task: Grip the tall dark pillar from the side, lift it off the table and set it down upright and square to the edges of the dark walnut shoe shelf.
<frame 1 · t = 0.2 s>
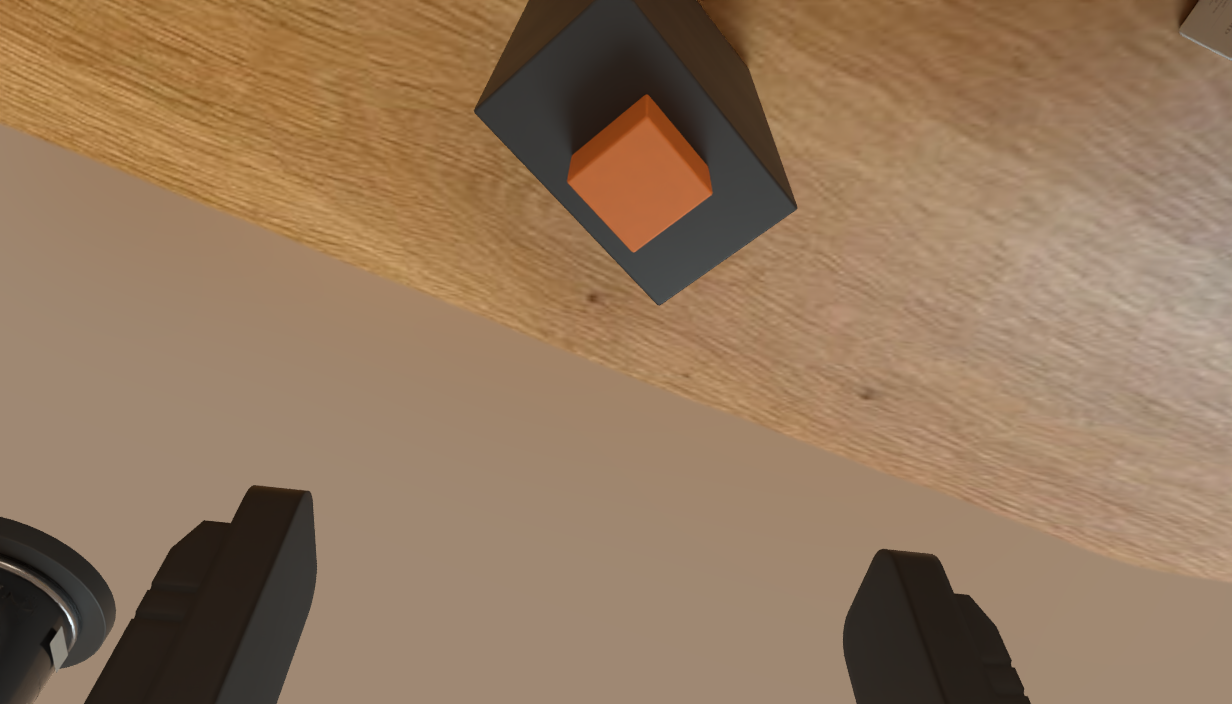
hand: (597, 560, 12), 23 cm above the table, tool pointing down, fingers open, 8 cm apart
tall dark pillar: (641, 35, 31), on the table
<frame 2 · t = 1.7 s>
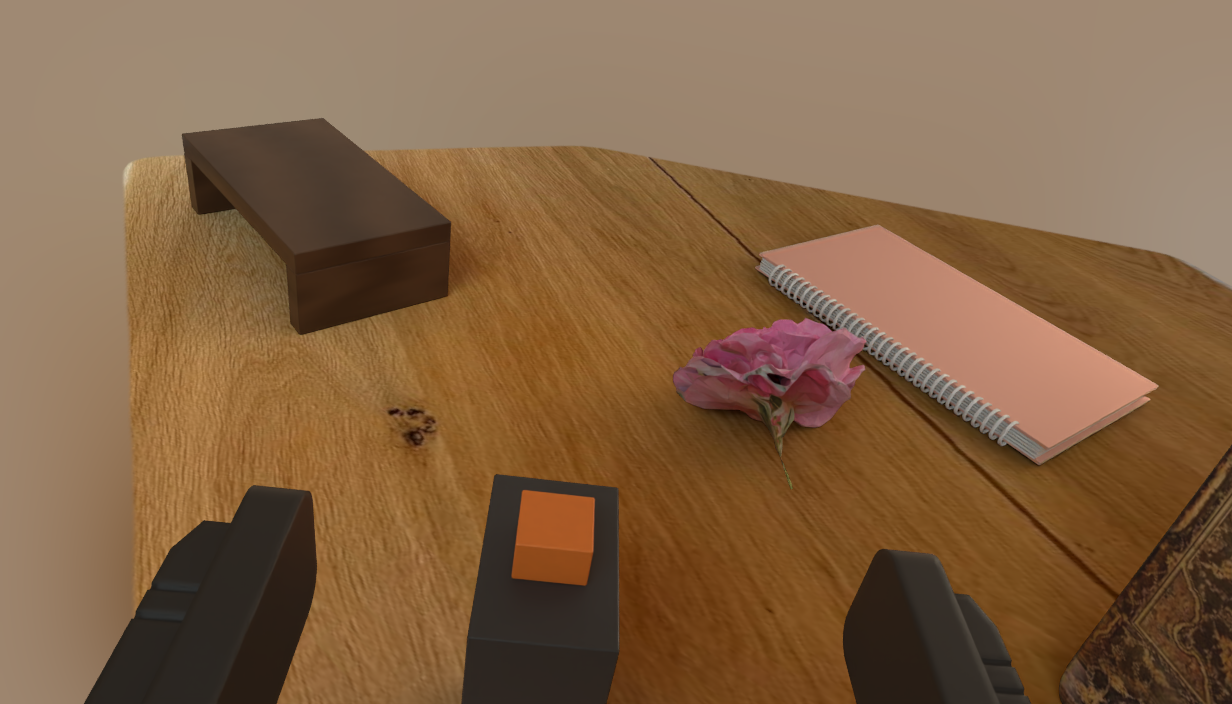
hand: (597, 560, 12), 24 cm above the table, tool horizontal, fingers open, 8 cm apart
flower: (754, 426, 55), on the table
shoe shelf: (314, 249, 65), on the table
notebook: (934, 336, 69), on the table
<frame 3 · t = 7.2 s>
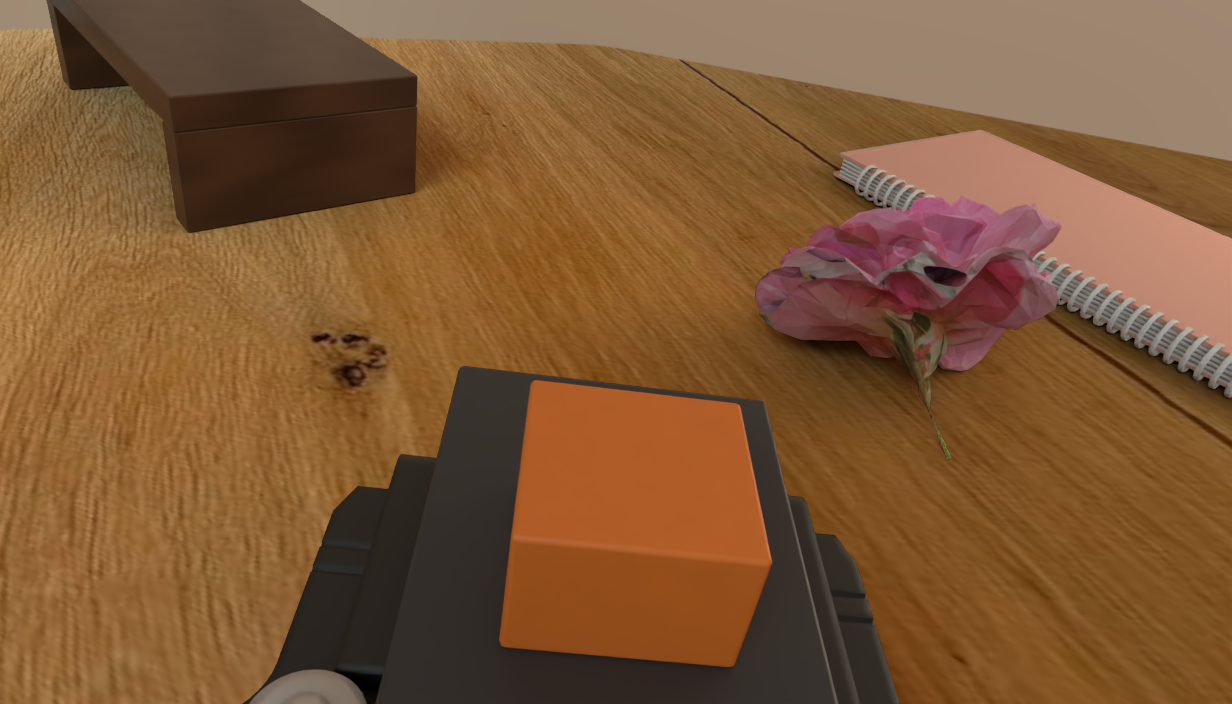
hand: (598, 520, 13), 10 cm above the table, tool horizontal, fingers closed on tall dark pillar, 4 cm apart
flower: (871, 369, 37), on the table
shoe shelf: (230, 133, 46), on the table
notebook: (1084, 259, 50), on the table
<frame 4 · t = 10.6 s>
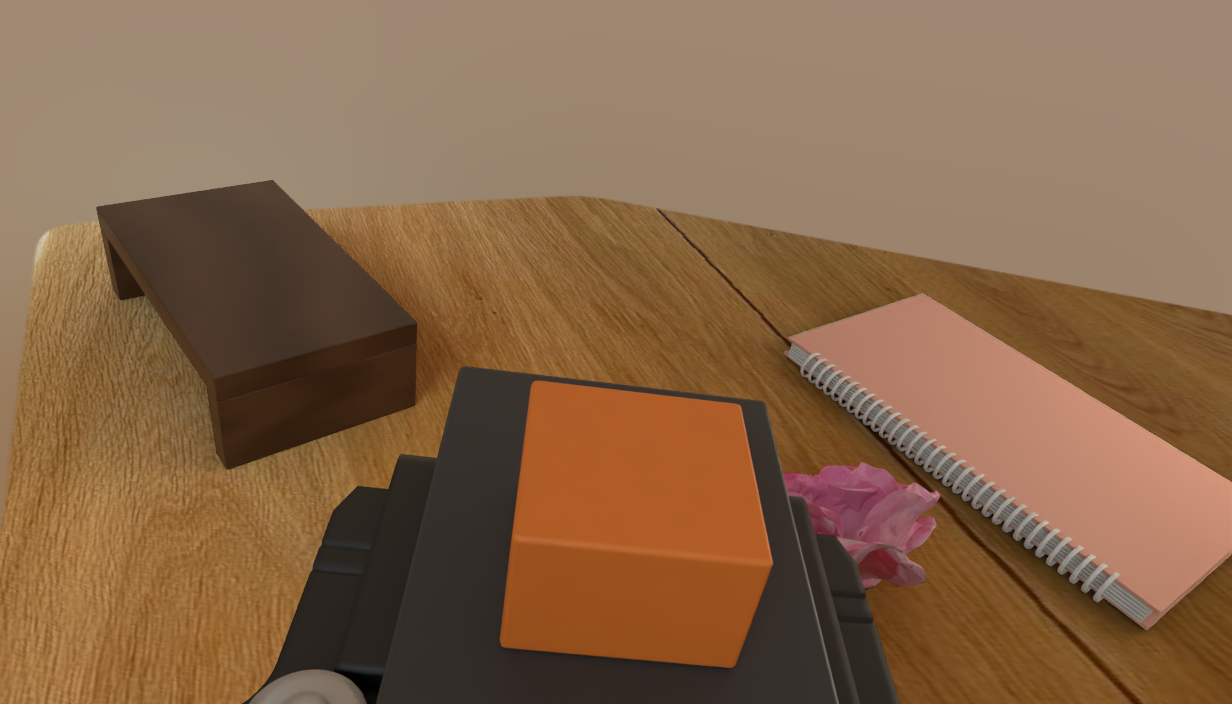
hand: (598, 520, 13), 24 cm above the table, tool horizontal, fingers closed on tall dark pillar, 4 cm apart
flower: (793, 587, 44), on the table
shoe shelf: (257, 344, 54), on the table
notebook: (999, 441, 58), on the table
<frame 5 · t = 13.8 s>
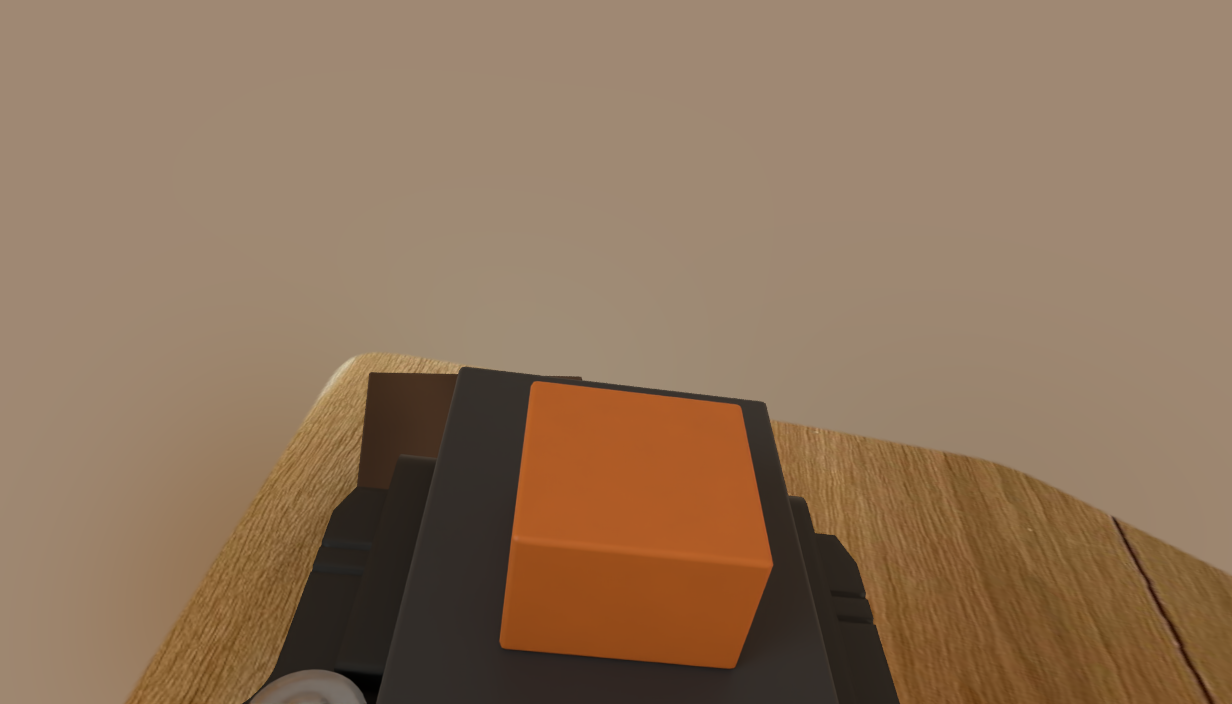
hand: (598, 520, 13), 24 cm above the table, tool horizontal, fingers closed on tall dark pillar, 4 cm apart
shoe shelf: (478, 603, 40), on the table
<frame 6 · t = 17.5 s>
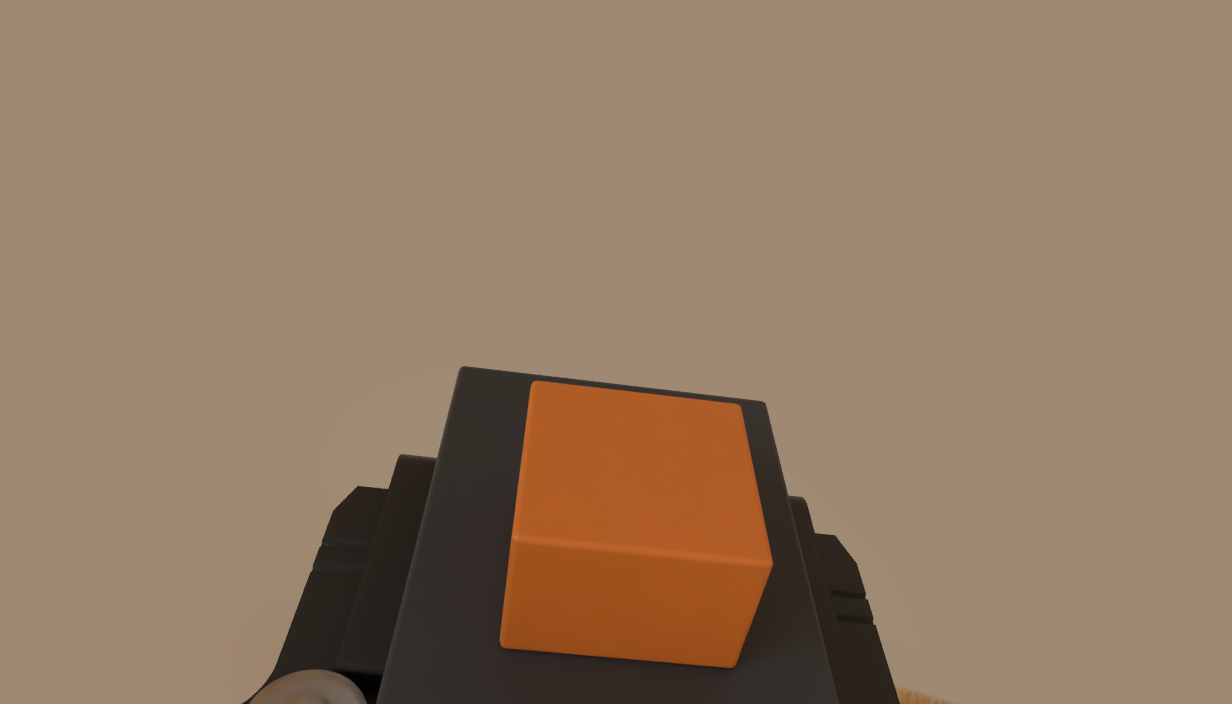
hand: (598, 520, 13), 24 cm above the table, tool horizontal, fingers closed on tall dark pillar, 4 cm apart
when the fingers open (16 cm above the table, at t = 20.6 s): tall dark pillar stays where it is, resting on shoe shelf.
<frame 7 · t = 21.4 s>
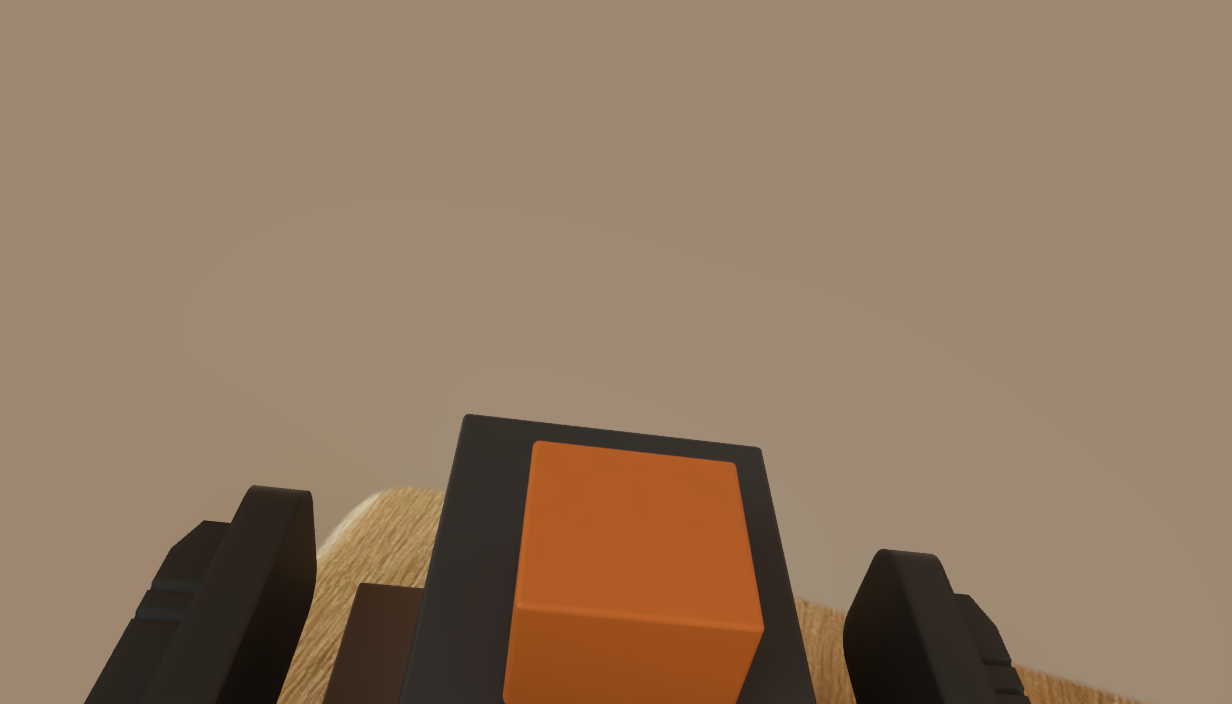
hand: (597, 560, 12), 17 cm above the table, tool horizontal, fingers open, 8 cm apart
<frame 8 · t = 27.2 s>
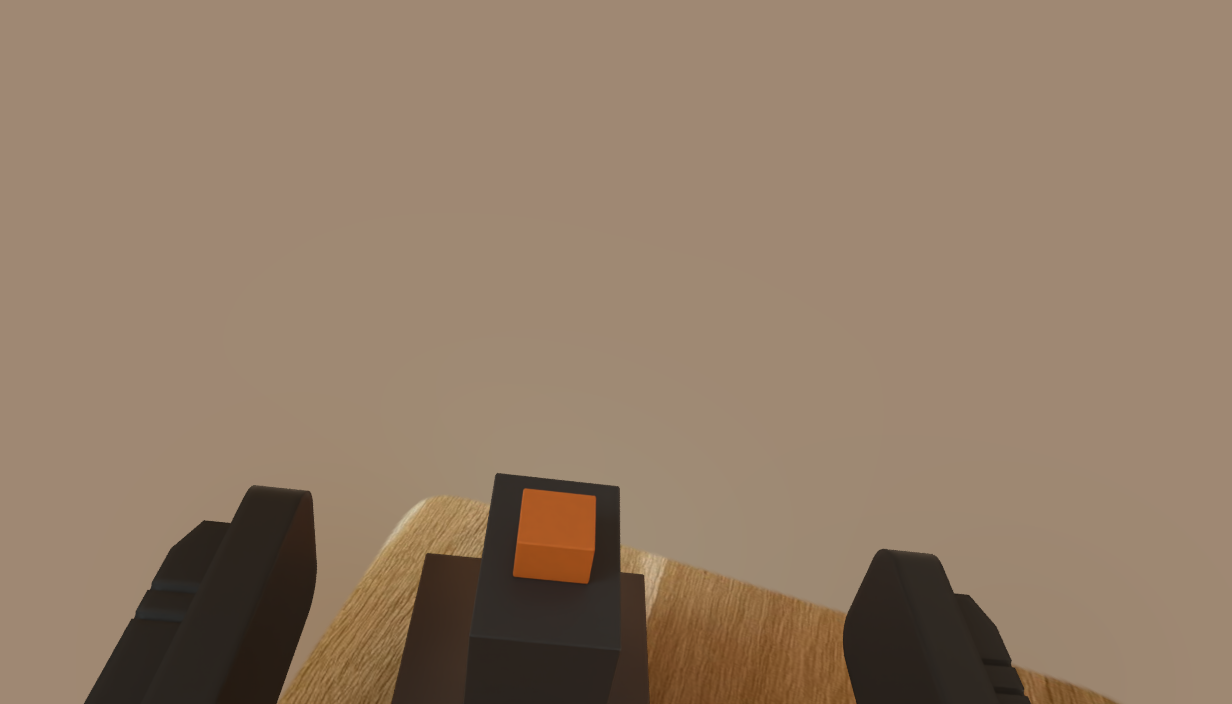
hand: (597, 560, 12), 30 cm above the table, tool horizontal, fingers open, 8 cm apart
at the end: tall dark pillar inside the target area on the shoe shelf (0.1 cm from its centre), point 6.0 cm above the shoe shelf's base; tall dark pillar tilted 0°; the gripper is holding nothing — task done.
